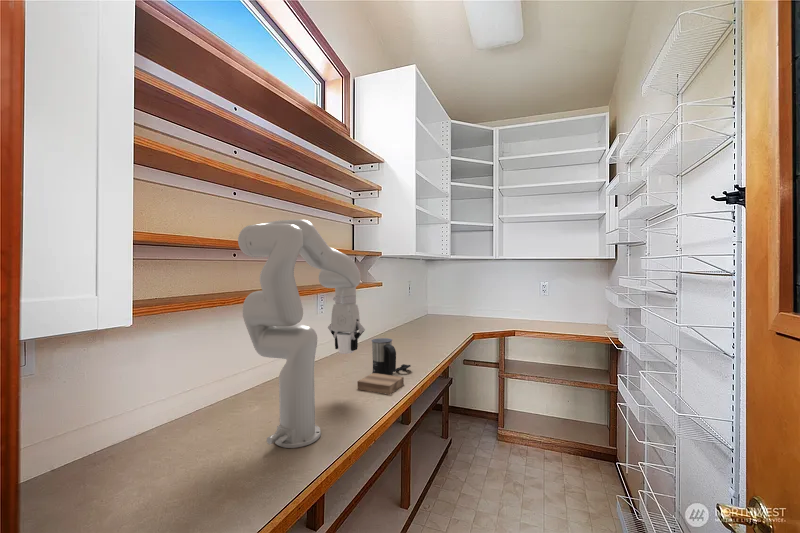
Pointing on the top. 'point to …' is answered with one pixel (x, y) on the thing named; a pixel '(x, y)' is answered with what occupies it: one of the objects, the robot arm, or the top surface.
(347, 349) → the white cup
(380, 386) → the walnut riser
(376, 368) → the milk frother
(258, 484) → the top surface
